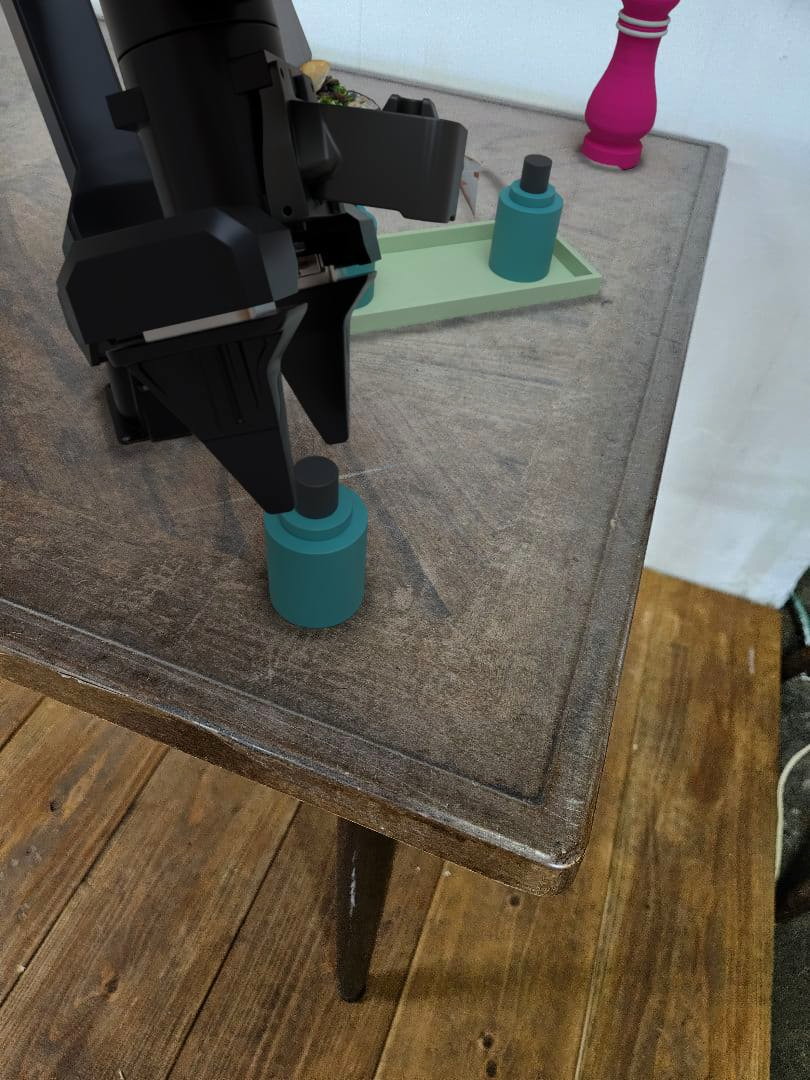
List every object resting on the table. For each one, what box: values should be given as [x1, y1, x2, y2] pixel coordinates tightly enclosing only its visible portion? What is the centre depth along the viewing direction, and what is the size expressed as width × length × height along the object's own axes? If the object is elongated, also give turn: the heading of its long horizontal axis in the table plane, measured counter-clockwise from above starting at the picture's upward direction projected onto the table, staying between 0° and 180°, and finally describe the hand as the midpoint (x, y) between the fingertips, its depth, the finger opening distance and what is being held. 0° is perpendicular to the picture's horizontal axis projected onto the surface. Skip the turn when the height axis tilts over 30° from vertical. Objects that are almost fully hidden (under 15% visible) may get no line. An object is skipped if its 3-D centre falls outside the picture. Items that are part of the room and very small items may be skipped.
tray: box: [350, 219, 603, 336], centre depth 68 cm, size 11×25×2 cm, turn 112°
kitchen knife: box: [460, 155, 481, 219], centre depth 82 cm, size 21×2×5 cm
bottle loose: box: [263, 455, 369, 629], centre depth 42 cm, size 5×5×9 cm
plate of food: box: [300, 46, 382, 111], centre depth 87 cm, size 12×12×8 cm
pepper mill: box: [580, 0, 681, 170], centre depth 81 cm, size 7×7×20 cm
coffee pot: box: [273, 0, 313, 69], centre depth 91 cm, size 21×12×15 cm, turn 96°
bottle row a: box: [489, 153, 564, 282], centre depth 67 cm, size 5×5×9 cm
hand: (313, 473), depth 34 cm, fingers open, 9 cm apart
